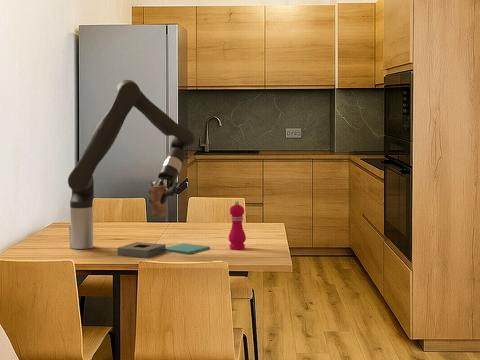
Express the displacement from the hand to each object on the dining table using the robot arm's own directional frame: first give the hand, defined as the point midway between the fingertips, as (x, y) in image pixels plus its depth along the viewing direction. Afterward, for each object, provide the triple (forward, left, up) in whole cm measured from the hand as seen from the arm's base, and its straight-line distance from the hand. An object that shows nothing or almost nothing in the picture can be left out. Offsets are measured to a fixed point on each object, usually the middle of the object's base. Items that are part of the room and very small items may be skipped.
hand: (156, 202), depth 309 cm
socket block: (-4, -4, -21) cm, 22 cm away
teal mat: (+6, +12, -21) cm, 24 cm away
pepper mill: (+22, +26, -21) cm, 40 cm away
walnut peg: (0, +2, -6) cm, 6 cm away
